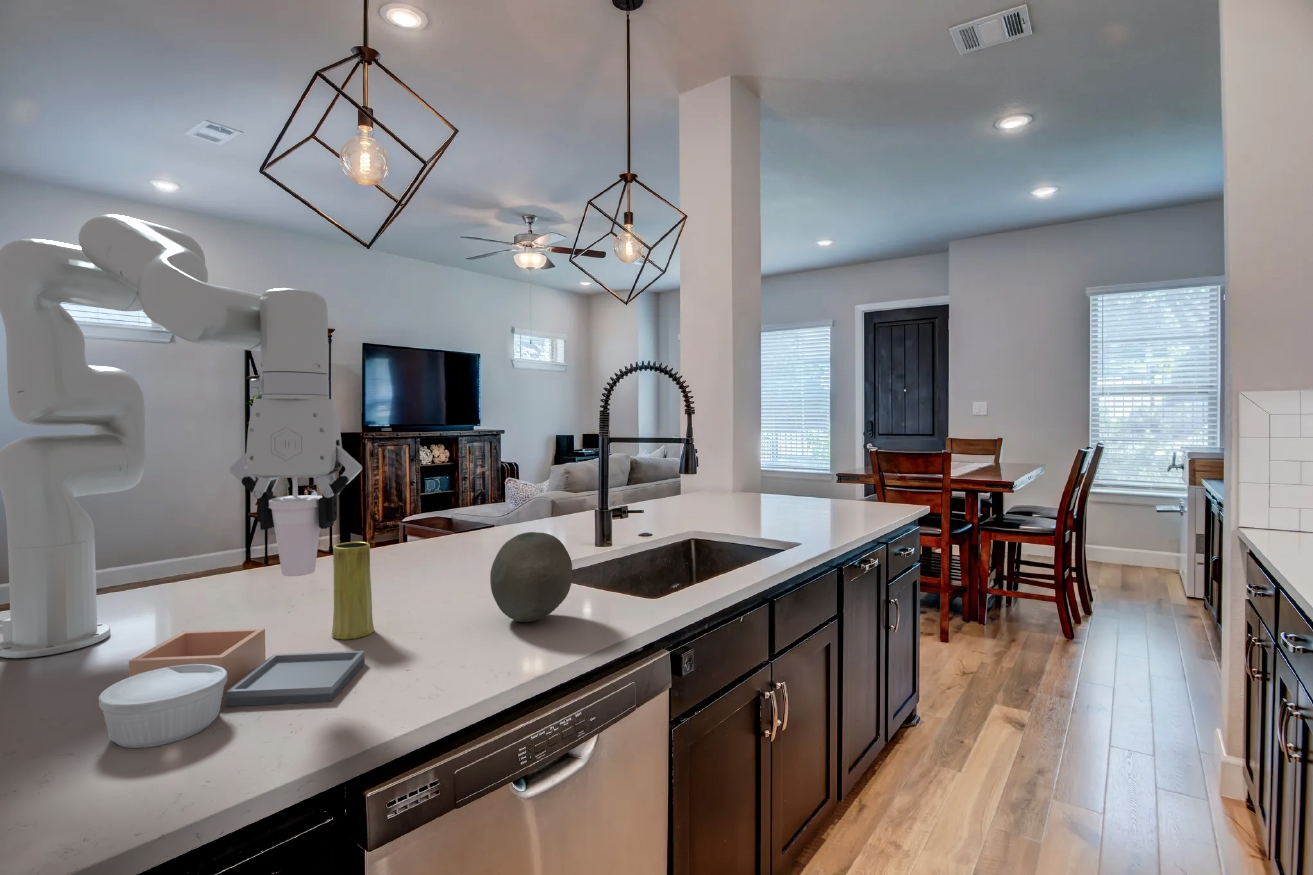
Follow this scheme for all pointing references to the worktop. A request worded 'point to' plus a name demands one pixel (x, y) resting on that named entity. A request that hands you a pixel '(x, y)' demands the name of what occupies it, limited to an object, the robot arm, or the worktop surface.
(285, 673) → the tray
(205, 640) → the holder
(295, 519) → the smoothie
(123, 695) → the ramekin
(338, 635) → the vase
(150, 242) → the robot arm
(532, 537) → the dark grey ball
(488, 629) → the worktop surface
